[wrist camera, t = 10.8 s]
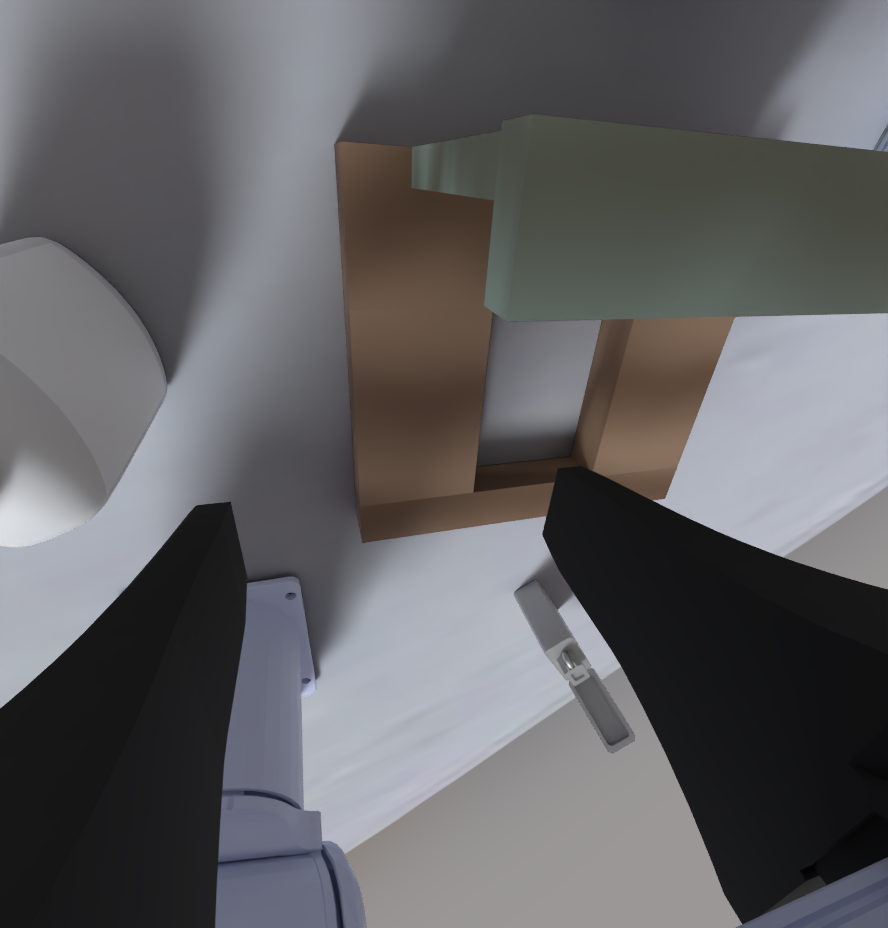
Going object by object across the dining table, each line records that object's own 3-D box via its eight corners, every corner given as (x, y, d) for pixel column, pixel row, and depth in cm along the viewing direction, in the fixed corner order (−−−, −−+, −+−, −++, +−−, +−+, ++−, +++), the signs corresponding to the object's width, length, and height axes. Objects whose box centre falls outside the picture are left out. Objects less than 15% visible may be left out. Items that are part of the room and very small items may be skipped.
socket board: (641, 477, 26) (825, 639, 17) (356, 514, 22) (403, 754, 13) (743, 176, 18) (1178, 182, 9) (334, 144, 14) (412, 100, 5)
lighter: (512, 593, 28) (578, 719, 22) (536, 578, 28) (610, 701, 22) (550, 642, 32) (615, 760, 26) (571, 630, 32) (641, 745, 26)
